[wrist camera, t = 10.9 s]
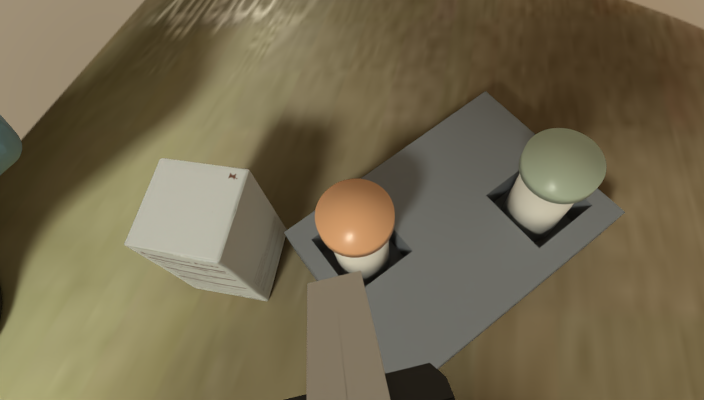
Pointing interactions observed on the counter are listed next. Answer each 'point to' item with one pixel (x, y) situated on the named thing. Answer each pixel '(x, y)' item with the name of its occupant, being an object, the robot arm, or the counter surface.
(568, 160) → the green capped cylinder
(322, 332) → the robot arm
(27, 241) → the counter surface
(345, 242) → the orange capped cylinder
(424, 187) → the console
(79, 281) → the counter surface
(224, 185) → the supplement box
